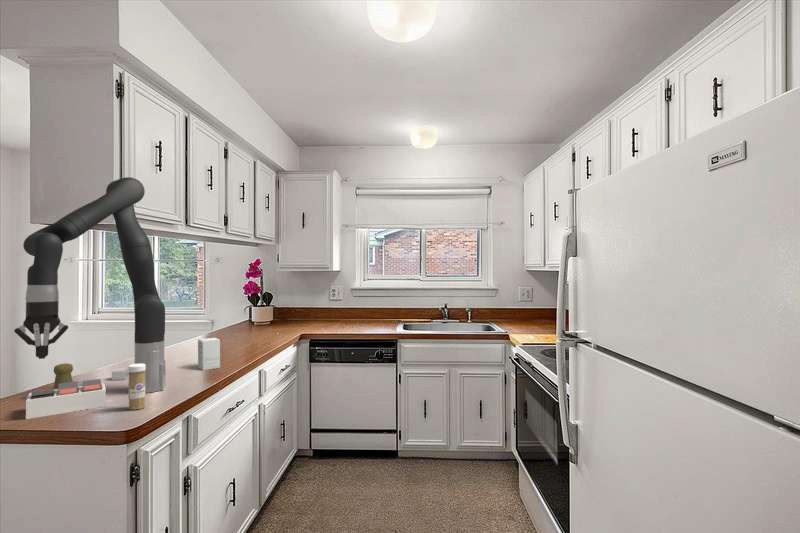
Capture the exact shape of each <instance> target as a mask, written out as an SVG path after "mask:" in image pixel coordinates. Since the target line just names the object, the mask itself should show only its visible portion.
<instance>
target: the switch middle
mask: <svg viewBox="0 0 800 533" xmlns="http://www.w3.org/2000/svg"><path fill="white" fill-rule="evenodd" d="M78 387H79V381H72V382H67V383H59V386H58V396H59V395H66V394H73V393H78Z"/></svg>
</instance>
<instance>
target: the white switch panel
mask: <svg viewBox="0 0 800 533" xmlns="http://www.w3.org/2000/svg"><path fill="white" fill-rule="evenodd" d="M82 387H83V385H78V393H73V394H66V395H59V396H58V389H56V390H54V394H48V395H41V396H32V392H29V393H28V395H27V398H26V400H25V419H26V420H30V419H37V418H43V417H49V416H55V415H60V414H61V415H62V414H67V413H73V412H74V411H75V412H80V410H81V411H85V410H86V409H88V410H93V408H94V409H100V408H106V407H107V406H106V405H107V400H106V398H107V396H106V395H107V390H106V389H107V388H106V385H105V382H103V383H102V382H101V390H95V391H88V392H82ZM105 406H106V407H105ZM99 407H100V408H99ZM86 411H87V410H86ZM75 412H74V413H75Z"/></svg>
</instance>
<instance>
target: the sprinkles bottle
mask: <svg viewBox="0 0 800 533" xmlns="http://www.w3.org/2000/svg"><path fill="white" fill-rule="evenodd" d="M127 368H128V372H129V375H128V410H130V411H137V410H142V409H144V408H145V407H146V393H145V370H146V365H145V364H135V363H134V364H129V365H128V367H127Z"/></svg>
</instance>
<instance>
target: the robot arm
mask: <svg viewBox="0 0 800 533" xmlns="http://www.w3.org/2000/svg"><path fill="white" fill-rule="evenodd" d="M144 196H145V187H144V184H143V183H142V182H141V181H140V180H138V179H137V178H134V177H130V176H129V177H128V176H127V177H126V176H125V177H121V178H119V179H116V180H113V181H111V182H110V183H109V184H108V185H107V186H106V190H105V194H104V195H102V196H100V197H98V198H97V199H95V200H93V201H91V202H89V203H87V204H85V205H83V206H80V207H79V208H77V209H74V210H72V211H70V212H69V213H68V214H65V215H64V216H63V217H61V218H59V219H58V220H57V221H56V222H54V223H52V224H50V225H48V226H45V227H43V228H41V229H39V230H37V231H34V232H33V233H31V234H30V235H28V236H27V237H26V238H25V239H24V241H23V246H22V247H23V250H24V251H25V253H26V254H28V255H30V256H33V257H34V259H33V264H32V265H31V266H29V267H28V269H27V275H26V276H27V280H26V282H27V284H26V289H25V290H26V292H25V319H24V320H23V324H21V325H20V326H19V327H16V328H15V329H14V330H13V331H14V333H15V334H16V335H17V336H19V338H20V339H21V340H22V341H24V343H26V344H27V345H28V346H34V347H35V357H36V358H38V360H41V359H43V360H45V359H46V357H48V355H49V346H50V345H53V344H55V343H56V342H57V341H58V340H59V339H60V338H61V337H62V336H63V334H64V333H65V332H67V330H68V329H69V325H67V324H64V323H63V322H61V319H60V318H59V307H60V306H59V297H60V295H59V294H60V293H59V286H58V282H59V281H58V280H59V278H58V277H59V276H58V275H59V274H58V273H59V272H58V271H59V267H60V265H61V261H62V256H63V252H64V247H63V244H65V243H67V242H71V241H73V240H75V239H78V238H79V237H80V236H82V235H84V234H85V233H86V232H88V231H89V230H91V229H93V228H94V227H95V226H96V225H98V224H100V223H101V222H102V221H103V220H105V219H107V218H109V217H110V216H111V215H112V216H113V219H114V222H115V228H116V232H117V237H118V241H119V245H120V252H121V257H122V260H123V264H124V268H125V270H126V273H127V276H128V279H129V282H130V284H131V289H132V295H133V308H134V309H133V310H134V311H133V312H134V364H145V365H146V370H145V394H146V393H154V392H159V391H163V390H164V389H165V388H166V360H165V333H166V307H165V304H164V303H163V301H162V300H161V298H160V294H159V292H158V289H157V288H158V287H157V286H156V281H155V261H154V255H153V250H152V246H151V242H150V239H149V237H148V235H147V234H146V232H145V230H144V229H143V228H142V227H141V224H140V223H139V221H138V219H137V216H136V211H135V204H137V203H139V202H140V201H142V200H143V198H144ZM57 327H58V328H57ZM56 328H57V330H58V332H57V333H55V335H54V336H53V337H52V338H50V334H52V333H53V332H54V330H56ZM26 329H27V330H28V331H29V332H30V333H31V334H32V335H34V339H33V338H31V337H30V336H29V335H28V334H27V333H26ZM42 336H43V339H42Z"/></svg>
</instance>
